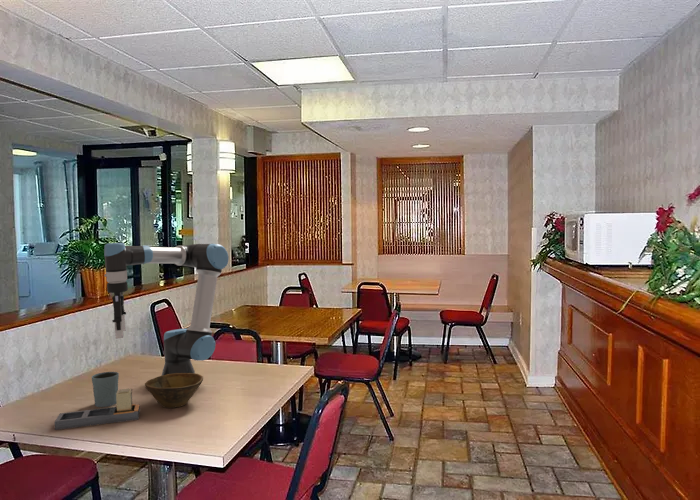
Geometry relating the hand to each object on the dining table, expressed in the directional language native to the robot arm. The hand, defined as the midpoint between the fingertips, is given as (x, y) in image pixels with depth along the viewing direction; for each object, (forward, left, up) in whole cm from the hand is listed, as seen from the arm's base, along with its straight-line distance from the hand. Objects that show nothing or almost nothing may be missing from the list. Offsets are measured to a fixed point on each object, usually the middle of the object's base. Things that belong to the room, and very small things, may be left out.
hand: (120, 334), depth 212 cm
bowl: (-20, +4, -30) cm, 36 cm away
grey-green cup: (+7, -7, -30) cm, 31 cm away
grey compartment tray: (+7, +13, -29) cm, 33 cm away
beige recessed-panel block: (-2, +13, -29) cm, 32 cm away
